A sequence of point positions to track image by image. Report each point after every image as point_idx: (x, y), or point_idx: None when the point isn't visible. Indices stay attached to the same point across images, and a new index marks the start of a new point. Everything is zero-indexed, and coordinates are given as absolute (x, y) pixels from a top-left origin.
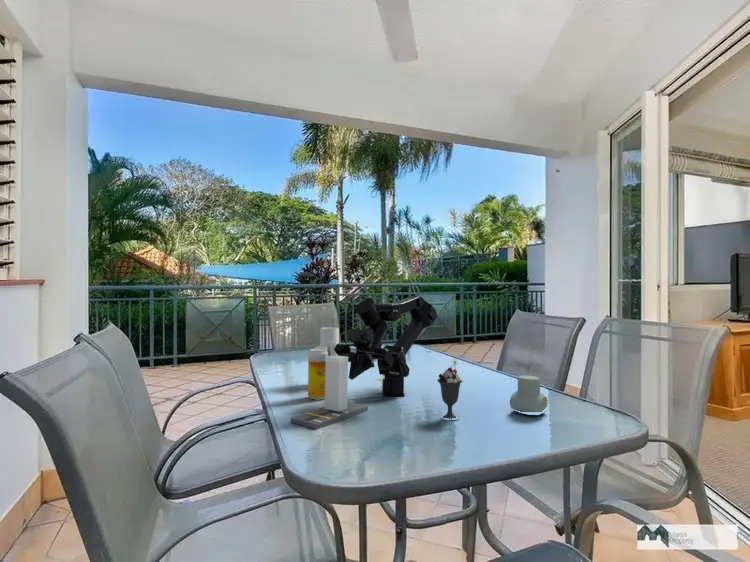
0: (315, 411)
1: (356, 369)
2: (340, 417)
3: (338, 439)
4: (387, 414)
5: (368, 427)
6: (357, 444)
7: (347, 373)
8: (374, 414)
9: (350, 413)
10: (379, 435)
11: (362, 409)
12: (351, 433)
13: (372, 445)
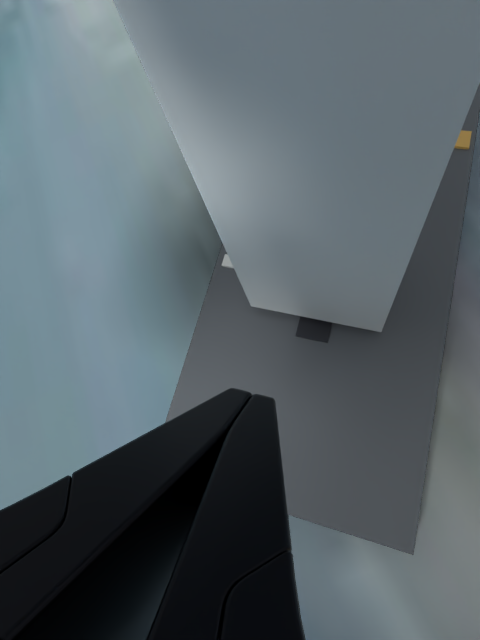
0: (438, 195)
1: (111, 453)
2: None
3: None
4: (20, 431)
5: (76, 181)
6: (73, 21)
7: (164, 111)
8: (96, 397)
9: (213, 279)
10: (14, 122)
11: (174, 404)
12: (126, 90)
13: (23, 38)
